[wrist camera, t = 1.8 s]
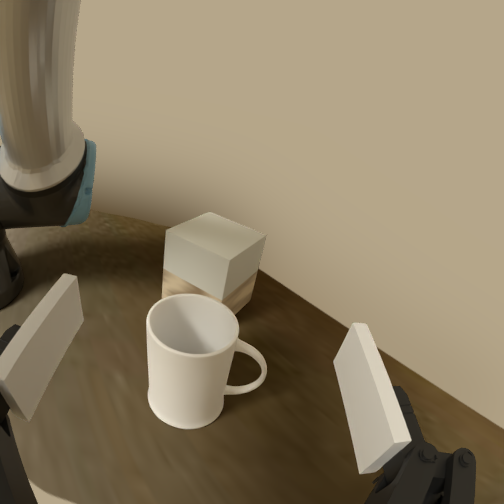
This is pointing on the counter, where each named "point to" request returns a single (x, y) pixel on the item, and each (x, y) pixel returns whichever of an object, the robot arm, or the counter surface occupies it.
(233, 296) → the block
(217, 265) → the tower top
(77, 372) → the counter surface
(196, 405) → the mug
